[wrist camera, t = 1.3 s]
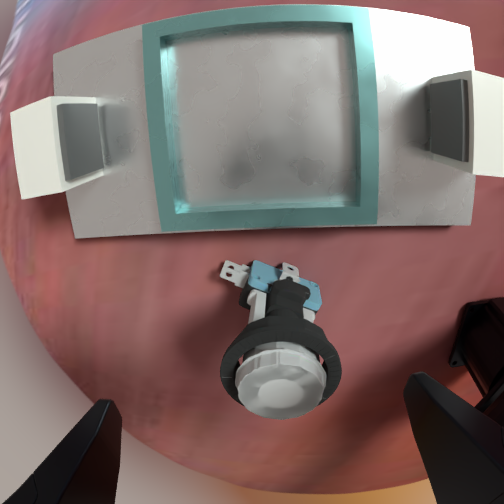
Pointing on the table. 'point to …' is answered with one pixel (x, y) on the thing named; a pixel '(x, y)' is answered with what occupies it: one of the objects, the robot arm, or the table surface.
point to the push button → (278, 344)
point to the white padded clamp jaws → (91, 158)
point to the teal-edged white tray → (267, 121)
